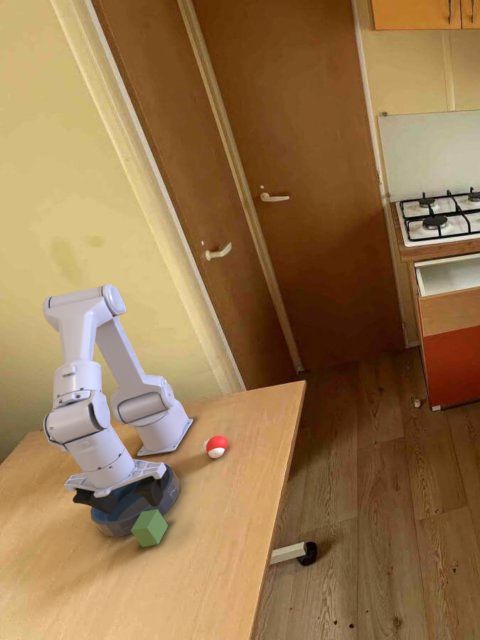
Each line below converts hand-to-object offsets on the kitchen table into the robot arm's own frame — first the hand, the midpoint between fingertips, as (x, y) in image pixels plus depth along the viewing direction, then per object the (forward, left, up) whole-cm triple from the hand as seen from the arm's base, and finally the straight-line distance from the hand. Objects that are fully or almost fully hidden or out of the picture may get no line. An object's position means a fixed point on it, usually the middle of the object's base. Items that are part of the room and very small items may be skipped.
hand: (135, 505), depth 79 cm
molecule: (-18, +4, -10) cm, 21 cm away
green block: (0, 0, -9) cm, 9 cm away
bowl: (-7, -6, -9) cm, 13 cm away
